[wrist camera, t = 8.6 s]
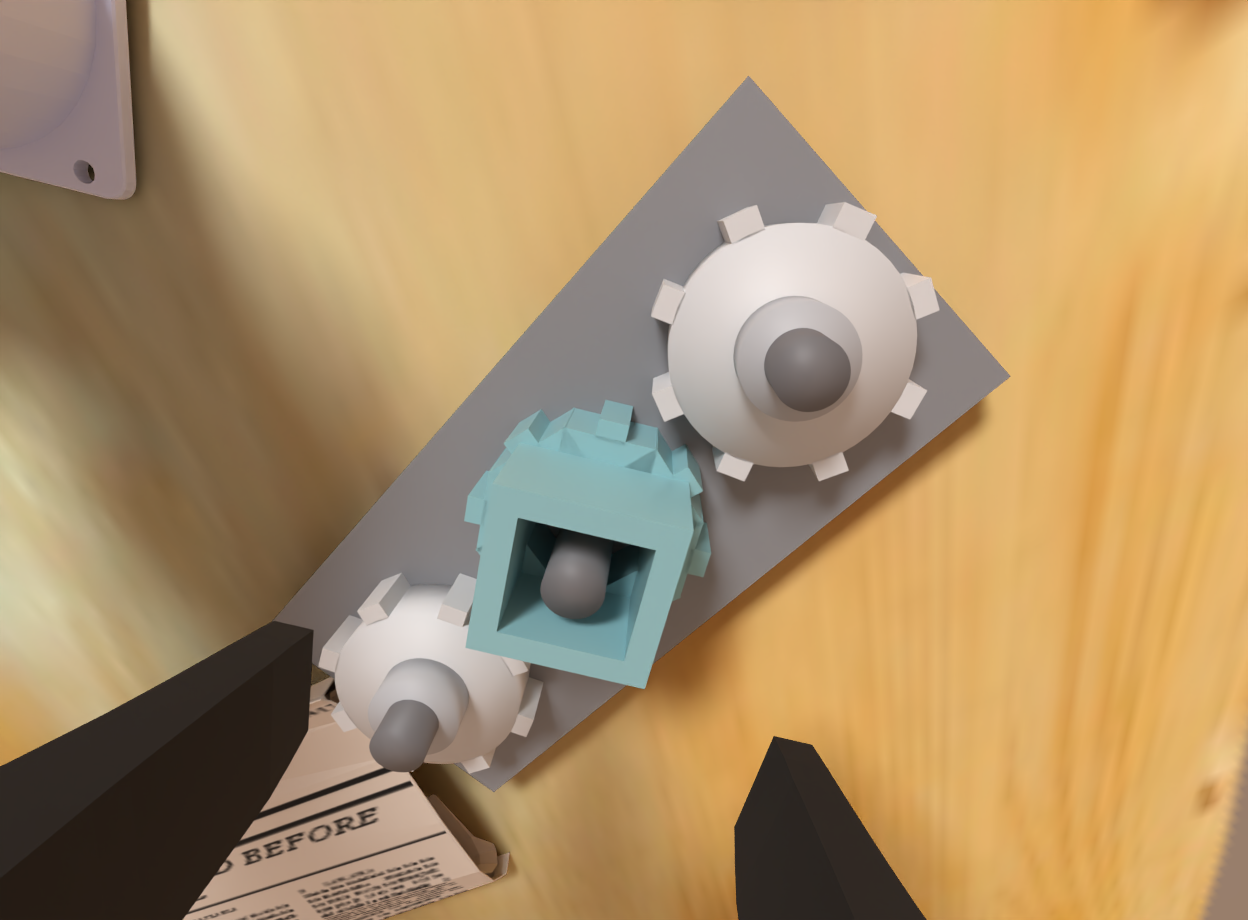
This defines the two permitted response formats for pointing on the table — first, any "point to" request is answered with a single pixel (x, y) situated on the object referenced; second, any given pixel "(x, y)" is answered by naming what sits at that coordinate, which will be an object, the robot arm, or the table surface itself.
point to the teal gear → (592, 504)
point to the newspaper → (345, 839)
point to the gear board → (683, 413)
